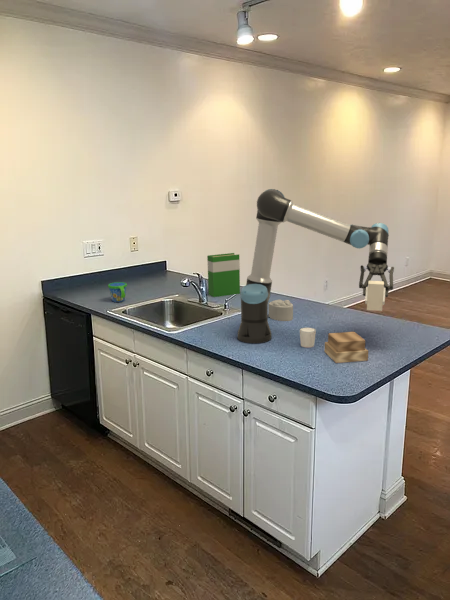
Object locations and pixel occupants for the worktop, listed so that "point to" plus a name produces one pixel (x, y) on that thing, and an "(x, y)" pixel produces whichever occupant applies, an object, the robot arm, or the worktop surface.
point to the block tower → (346, 347)
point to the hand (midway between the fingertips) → (374, 302)
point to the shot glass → (307, 337)
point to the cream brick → (375, 295)
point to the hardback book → (223, 274)
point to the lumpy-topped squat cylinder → (281, 310)
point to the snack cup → (117, 291)
